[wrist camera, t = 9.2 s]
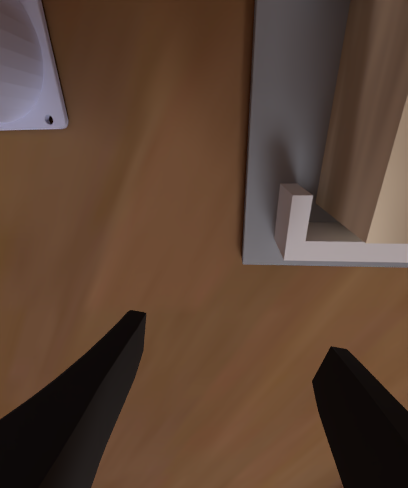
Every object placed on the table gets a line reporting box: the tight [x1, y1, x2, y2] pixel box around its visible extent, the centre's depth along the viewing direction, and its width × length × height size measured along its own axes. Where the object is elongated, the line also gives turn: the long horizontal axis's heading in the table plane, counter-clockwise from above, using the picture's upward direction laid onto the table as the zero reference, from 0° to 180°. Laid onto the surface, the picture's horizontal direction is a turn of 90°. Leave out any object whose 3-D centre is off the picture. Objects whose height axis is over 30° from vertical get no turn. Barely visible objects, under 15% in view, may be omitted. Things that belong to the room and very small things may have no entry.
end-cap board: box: [242, 0, 408, 267], centre depth 12 cm, size 12×20×4 cm, turn 1°
